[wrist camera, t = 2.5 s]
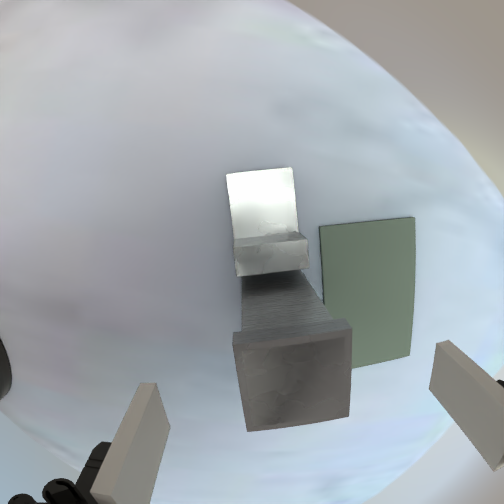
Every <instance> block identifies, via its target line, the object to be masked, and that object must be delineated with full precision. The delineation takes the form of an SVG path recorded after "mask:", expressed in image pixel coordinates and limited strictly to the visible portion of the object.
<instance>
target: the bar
mask: <svg viewBox="0 0 504 504" xmlns="http://www.w3.org/2000/svg"><path fill="white" fill-rule="evenodd" d="M233 351H234V357H235V363H236V369H237V376H238V382H239V388H240V394H241V399H242V405H243V411H244V417H245V422H246V428H247V432H251V431H261V430H270V429H278V428H285V427H293V426H299V425H306V424H312V423H318V422H323V421H329V420H334V419H339V418H344V417H349V408H350V391H351V368H352V327H351V326H350V324H349V323H348V322H347V320H346V319H345V318H339V319H333V318H332V316H331V315H330V313H329V312H328V310H327V309H326V307H325V306H324V304H323V303H322V301H321V300H320V298H319V297H318V295H317V294H316V292H315V291H314V289H313V288H312V286H311V285H310V283H309V282H308V280H307V279H306V277H305V276H304V274H303V273H302V271H301V270H300V269H298V270H290V271H281V272H273V273H265V274H256V275H248V276H242V332H233Z"/></svg>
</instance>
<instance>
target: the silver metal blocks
mask: <svg viewBox="0 0 504 504" xmlns="http://www.w3.org/2000/svg"><path fill="white" fill-rule="evenodd" d="M226 176H227V185H228V193H229V202H230V210H231V218H232V226H233V235H234V243H233V253H234V261H235V269H236V276H237V277H239V276H248V275H256V274H265V273H273V272H281V271H290V270H298V269H306V268H309V254H308V241H307V239H306V238H305V237H304V236H303V235H302V234H301V233H299V232H298V221H297V210H296V200H295V190H294V181H293V171H292V167H289V168H278V169H268V170H258V171H249V172H240V173H232V174H226Z"/></svg>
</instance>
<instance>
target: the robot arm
mask: <svg viewBox="0 0 504 504" xmlns="http://www.w3.org/2000/svg"><path fill="white" fill-rule="evenodd" d="M10 386H11V371H10V366H9V362H8V358H7V355H6V353H5V350H4V348H3V345H2V343H1V341H0V400H1V399H2V398H3V397H4V396H5V395H6V394H7V393H8V391H9V389H10ZM429 390H430V391H431V392H432V393H433V395H434V396H435V397H436V398H437V400H438V401H439V402H440V403H441V405H442V406H443V407H444V408H445V409H446V411H447V412H448V413H449V414H450V416H451V417H452V418H453V419H454V421H455V422H456V423H457V425H458V426H459V427H460V428H461V430H462V431H463V432H464V433H465V435H466V436H467V437H468V439H469V440H470V441H471V442H472V444H473V445H474V446H475V448H476V449H477V450H478V452H479V453H480V454H481V455H482V457H483V458H484V459H485V461H486V462H487V463H488V465H489V466H490V467H491V469H492V470H493V471H494V472H495V471H496V470H498V469H499V468H501V467H503V466H504V381H502V380H498V381H495V380H494V379H493V378H492V377H491V376H490V375H489V374H488V373H486V372H485V371H484V370H483V369H482V368H481V367H480V366H478V365H477V364H476V363H475V362H474V361H473V360H472V359H470V358H469V357H468V356H467V355H466V354H465V353H463V352H462V351H461V350H460V349H459V348H458V347H456V346H455V345H454V344H453V343H452V342H451V341H449V340H447V341H443V342H440V343H436V350H435V356H434V363H433V369H432V374H431V380H430V385H429ZM169 430H170V424H169V422H168V419H167V416H166V413H165V410H164V407H163V404H162V400H161V397H160V394H159V391H158V388H157V384H156V383H140V385H139V387H138V389H137V391H136V393H135V395H134V397H133V399H132V401H131V404H130V406H129V408H128V410H127V412H126V414H125V416H124V418H123V420H122V422H121V424H120V427H119V429H118V431H117V433H116V435H115V437H114V439H113V442H112V443H110V442H101V443H99V444H98V445H97V446H96V447H95V448H94V449H93V450H92V452H91V454H90V456H89V460H87V462H86V464H85V467H84V468H83V470H82V472H81V474H80V476H79V478H78V480H77V482H76V484H75V485H74V483H73V482H72V481H70V480H68V479H64V478H59V479H54V480H52V481H50V482H48V483H47V484H46V485H45V486H44V489H43V491H42V496H43V498H44V499H45V500H46V502H47V503H37V502H36V501H35V500H34V499H33V498H32V496H30V495H28V494H18V495H15V496H14V497H12V498H11V499H10V500H9V502H8V504H150V500H151V496H152V492H153V489H154V485H155V481H156V477H157V474H158V470H159V466H160V463H161V459H162V455H163V452H164V448H165V445H166V441H167V437H168V434H169Z"/></svg>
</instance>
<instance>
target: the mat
mask: <svg viewBox="0 0 504 504" xmlns="http://www.w3.org/2000/svg"><path fill="white" fill-rule="evenodd" d="M319 233H320V247H321V262H322V279H323V298H324V306H325V307H326V309H327V310H328V312H329V313H330V315H331V316H332V318H333V319H339V318H345V319H346V320H347V322H348V323H349V324H350V326H351V327H352V368H351V369H353V368H358V367H363V366H367V365H372V364H377V363H381V362H385V361H390V360H394V359H398V358H402V357H406V356H410V347H411V337H412V325H413V312H414V294H415V258H416V244H415V218H414V217H409V218H398V219H388V220H378V221H368V222H358V223H348V224H339V225H329V226H320V227H319Z"/></svg>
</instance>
